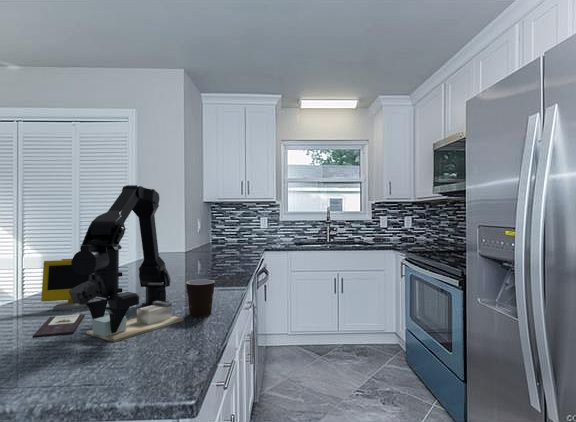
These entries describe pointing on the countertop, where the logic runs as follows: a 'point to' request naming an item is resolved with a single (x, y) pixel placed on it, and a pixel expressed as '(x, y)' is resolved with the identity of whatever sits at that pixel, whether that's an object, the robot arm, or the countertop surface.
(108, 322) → the stub
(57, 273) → the toy computer monitor
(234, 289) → the countertop surface
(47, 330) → the chocolate bar
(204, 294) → the coffee mug
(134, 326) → the board
